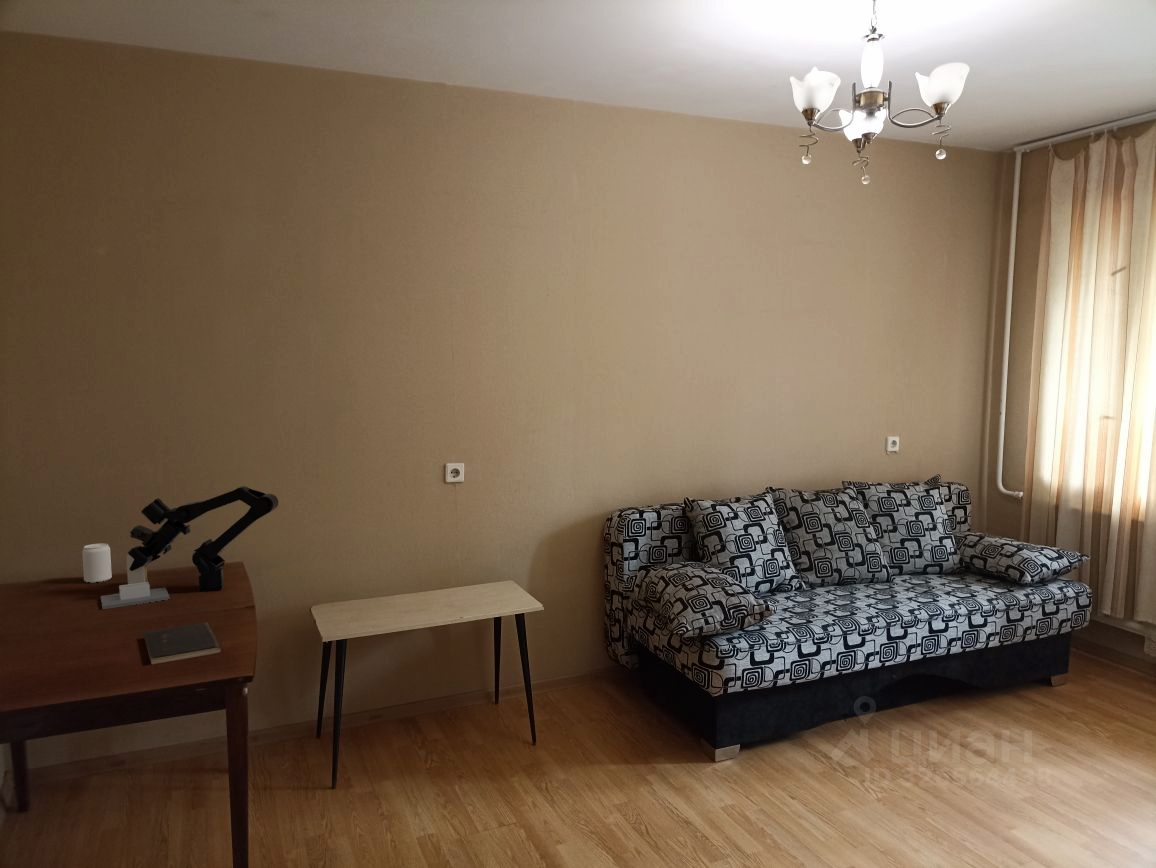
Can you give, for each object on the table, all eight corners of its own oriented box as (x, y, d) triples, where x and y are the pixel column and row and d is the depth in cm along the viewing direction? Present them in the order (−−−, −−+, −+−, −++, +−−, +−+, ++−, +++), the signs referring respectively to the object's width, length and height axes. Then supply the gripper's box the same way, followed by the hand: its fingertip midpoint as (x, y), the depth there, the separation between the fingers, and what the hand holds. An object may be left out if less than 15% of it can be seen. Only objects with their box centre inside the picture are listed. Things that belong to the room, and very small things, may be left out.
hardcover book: (150, 667, 196) (149, 657, 196) (143, 640, 216) (143, 632, 216) (221, 654, 205) (221, 645, 204) (209, 630, 224) (208, 621, 224)
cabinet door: (149, 589, 264) (147, 553, 263) (145, 591, 262) (144, 554, 261) (128, 590, 264) (126, 553, 263) (124, 591, 262) (122, 555, 261)
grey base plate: (165, 590, 263) (164, 576, 263) (169, 599, 252) (169, 585, 252) (100, 599, 254) (99, 584, 253) (102, 609, 243) (101, 594, 242)
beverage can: (116, 579, 278) (114, 544, 277) (92, 584, 271) (90, 549, 270) (103, 576, 282) (101, 542, 281) (79, 581, 275) (77, 546, 274)
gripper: (159, 512, 271) (127, 545, 271) (133, 522, 252) (98, 558, 252) (185, 535, 272) (152, 568, 272) (160, 547, 253) (125, 583, 253)
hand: (132, 569), depth 262 cm, fingers closed on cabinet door, 2 cm apart
